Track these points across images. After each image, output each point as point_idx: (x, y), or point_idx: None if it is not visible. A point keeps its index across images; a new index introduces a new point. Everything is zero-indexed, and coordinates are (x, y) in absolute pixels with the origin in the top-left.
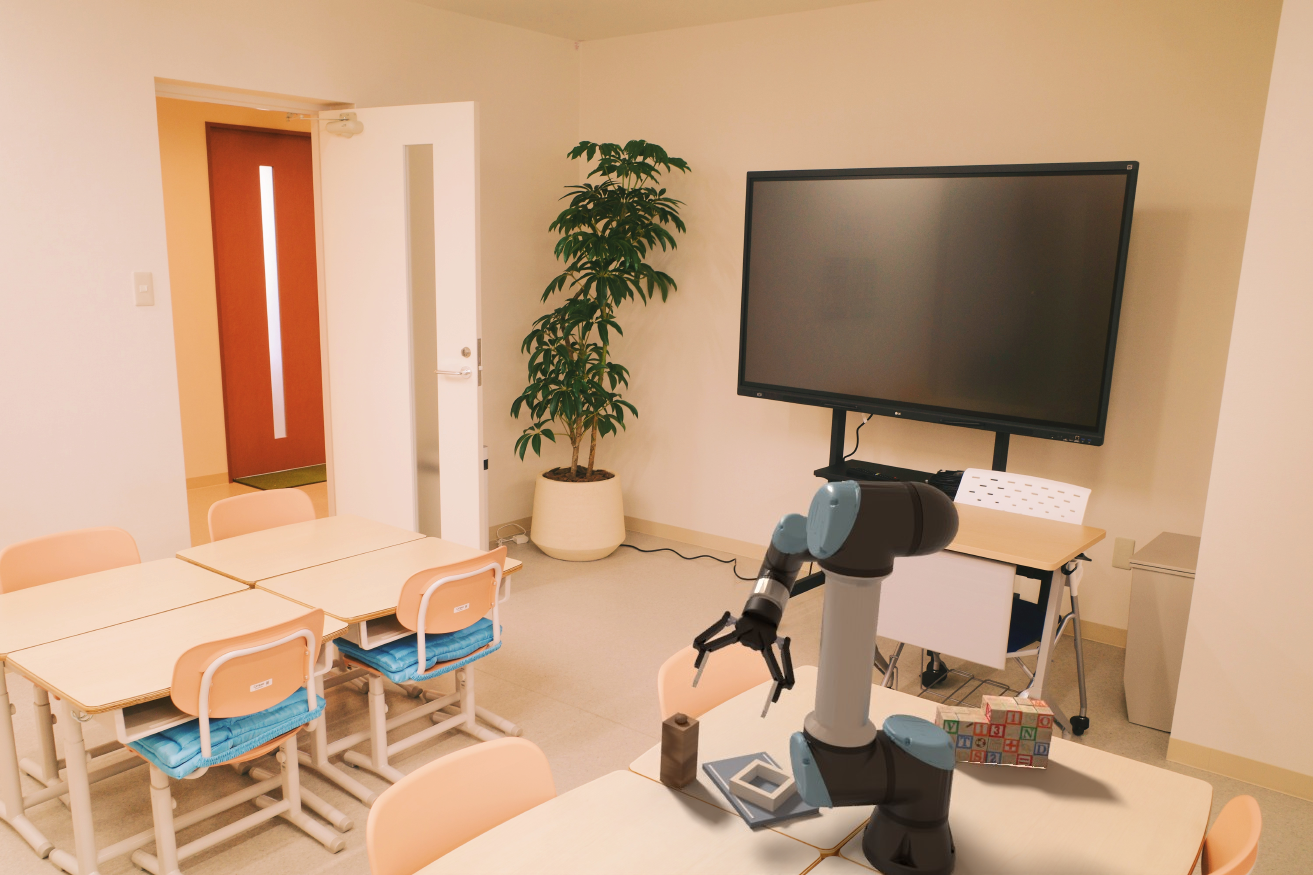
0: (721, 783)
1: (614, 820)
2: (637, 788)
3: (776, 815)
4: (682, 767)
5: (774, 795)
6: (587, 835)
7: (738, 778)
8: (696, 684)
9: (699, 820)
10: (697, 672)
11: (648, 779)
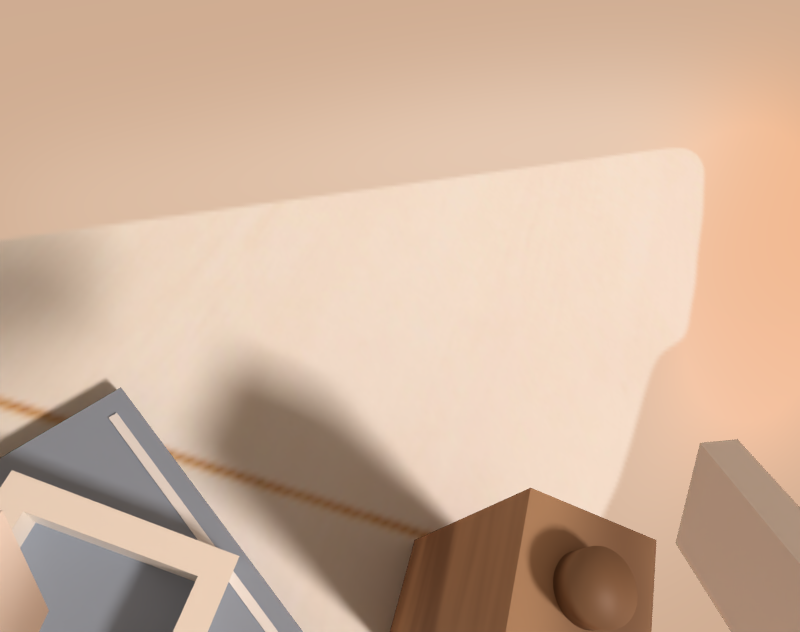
0: (275, 617)
1: (523, 324)
2: None
3: (7, 466)
4: (447, 527)
5: (6, 503)
6: (548, 257)
7: (198, 583)
8: (688, 493)
9: (306, 387)
10: (789, 503)
11: None
